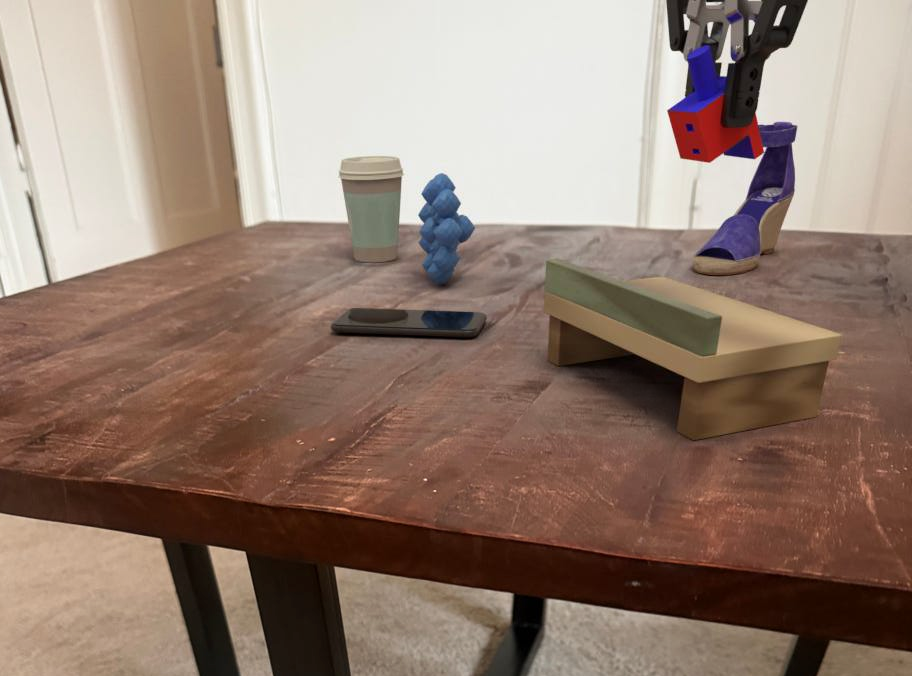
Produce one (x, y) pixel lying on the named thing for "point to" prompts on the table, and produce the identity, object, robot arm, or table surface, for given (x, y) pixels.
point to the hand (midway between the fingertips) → (716, 124)
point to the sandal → (755, 209)
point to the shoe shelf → (692, 346)
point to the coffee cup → (373, 205)
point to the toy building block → (709, 117)
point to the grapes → (442, 228)
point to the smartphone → (410, 322)
